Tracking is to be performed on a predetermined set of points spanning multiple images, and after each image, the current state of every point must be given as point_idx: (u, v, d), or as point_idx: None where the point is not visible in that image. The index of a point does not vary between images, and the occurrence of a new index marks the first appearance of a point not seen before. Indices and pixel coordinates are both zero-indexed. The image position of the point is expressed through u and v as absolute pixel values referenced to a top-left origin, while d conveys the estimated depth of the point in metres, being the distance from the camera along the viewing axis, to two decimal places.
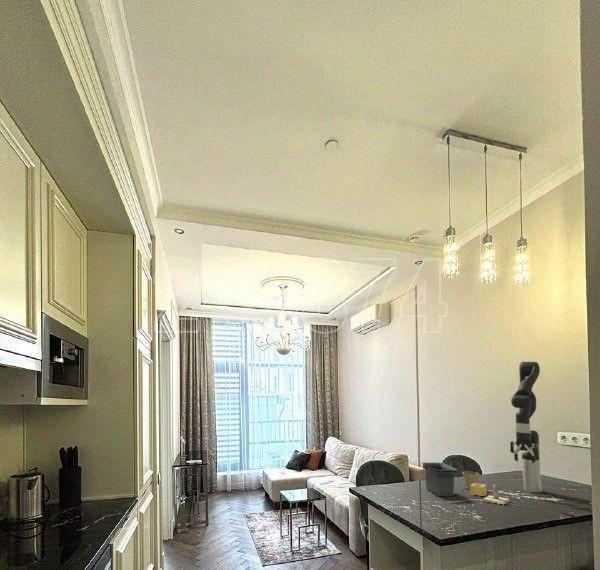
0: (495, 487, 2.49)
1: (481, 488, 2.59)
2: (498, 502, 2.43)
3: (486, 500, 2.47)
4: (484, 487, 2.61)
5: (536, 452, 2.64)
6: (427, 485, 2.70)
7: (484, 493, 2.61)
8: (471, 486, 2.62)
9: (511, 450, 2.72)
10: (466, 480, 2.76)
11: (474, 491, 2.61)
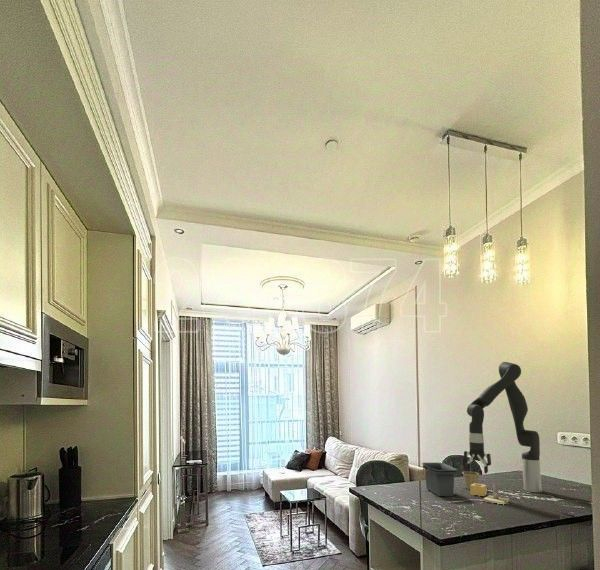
0: (495, 487, 2.49)
1: (481, 488, 2.59)
2: (498, 502, 2.43)
3: (486, 500, 2.47)
4: (484, 487, 2.61)
5: (488, 462, 2.61)
6: (427, 485, 2.70)
7: (484, 493, 2.61)
8: (471, 486, 2.62)
9: (464, 460, 2.68)
10: (466, 480, 2.76)
11: (474, 491, 2.61)
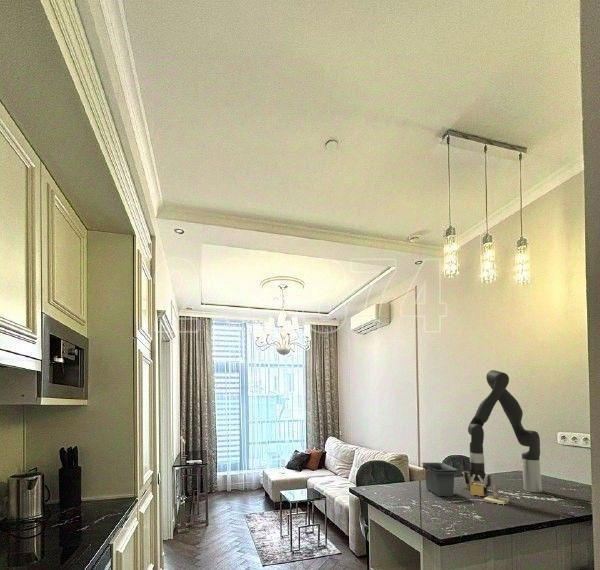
0: (495, 487, 2.49)
1: (481, 488, 2.59)
2: (498, 502, 2.43)
3: (486, 500, 2.47)
4: None
5: (488, 484, 2.59)
6: (427, 485, 2.70)
7: None
8: (471, 486, 2.62)
9: (466, 481, 2.66)
10: None
11: (474, 491, 2.61)
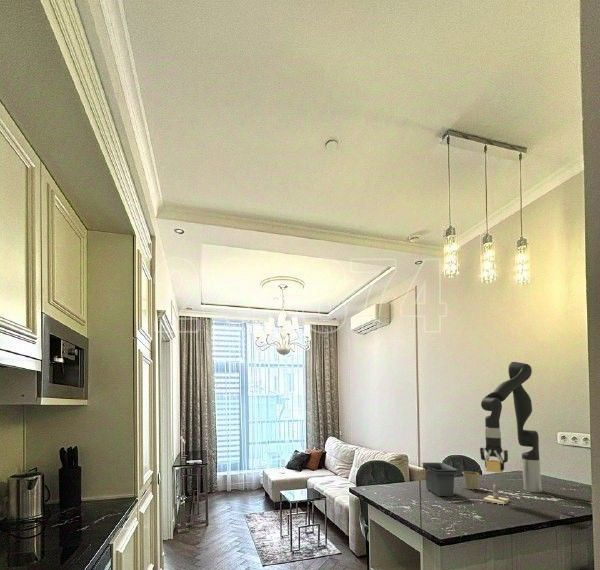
0: (495, 487, 2.49)
1: (498, 463, 2.47)
2: (498, 502, 2.43)
3: (486, 500, 2.47)
4: None
5: (505, 459, 2.48)
6: (427, 485, 2.70)
7: None
8: (487, 462, 2.51)
9: (482, 457, 2.55)
10: (466, 480, 2.76)
11: (491, 467, 2.49)
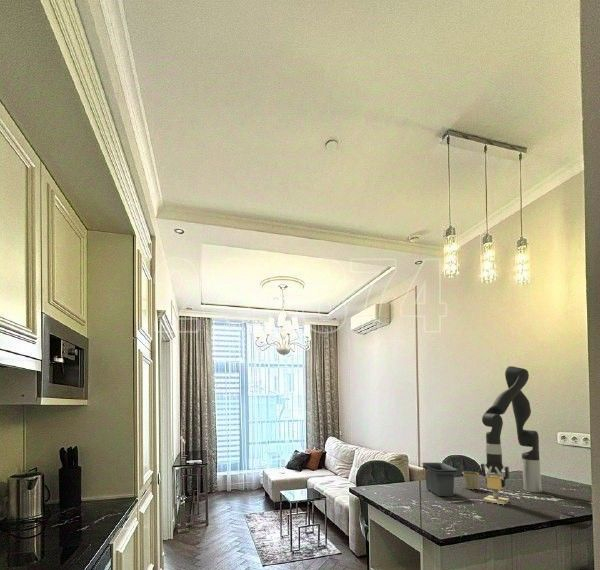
0: None
1: (499, 480, 2.46)
2: (498, 502, 2.43)
3: (486, 500, 2.47)
4: None
5: (506, 476, 2.46)
6: (427, 485, 2.70)
7: None
8: (488, 478, 2.49)
9: (482, 473, 2.53)
10: (466, 480, 2.76)
11: (492, 483, 2.48)
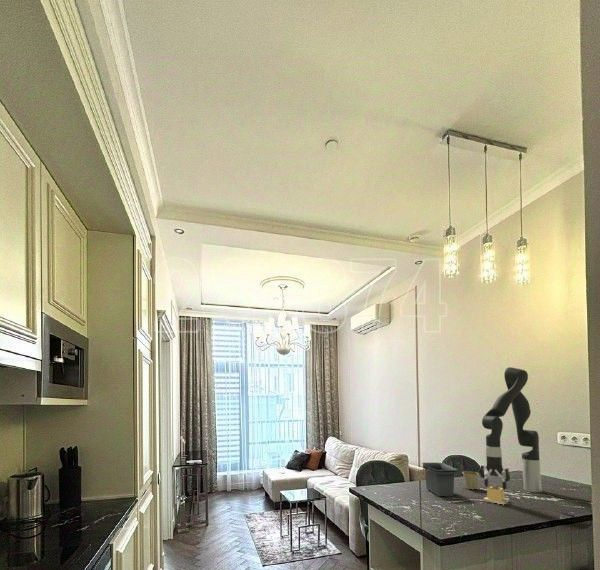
0: (495, 487, 2.49)
1: (499, 491, 2.45)
2: (498, 502, 2.43)
3: (486, 500, 2.47)
4: (502, 490, 2.47)
5: (507, 478, 2.46)
6: (427, 485, 2.70)
7: (502, 497, 2.47)
8: (488, 489, 2.48)
9: (481, 475, 2.54)
10: (466, 480, 2.76)
11: (492, 494, 2.47)
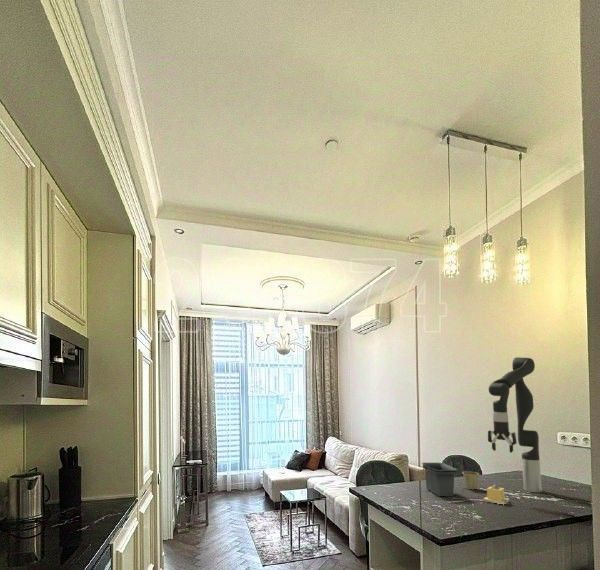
0: (495, 487, 2.49)
1: (499, 491, 2.45)
2: (498, 502, 2.43)
3: (486, 500, 2.47)
4: (502, 490, 2.47)
5: (514, 441, 2.56)
6: (427, 485, 2.70)
7: (502, 497, 2.47)
8: (488, 489, 2.48)
9: (489, 439, 2.64)
10: (466, 480, 2.76)
11: (492, 494, 2.47)
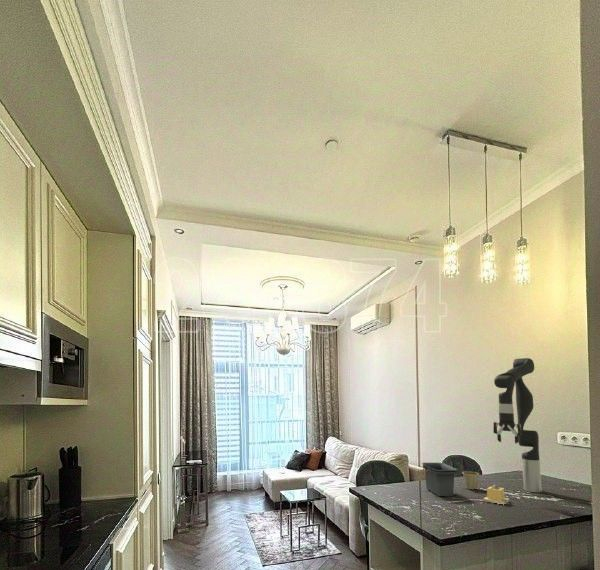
0: (495, 487, 2.49)
1: (499, 491, 2.45)
2: (498, 502, 2.43)
3: (486, 500, 2.47)
4: (502, 490, 2.47)
5: (519, 432, 2.60)
6: (427, 485, 2.70)
7: (502, 497, 2.47)
8: (488, 489, 2.48)
9: (494, 431, 2.68)
10: (466, 480, 2.76)
11: (492, 494, 2.47)
